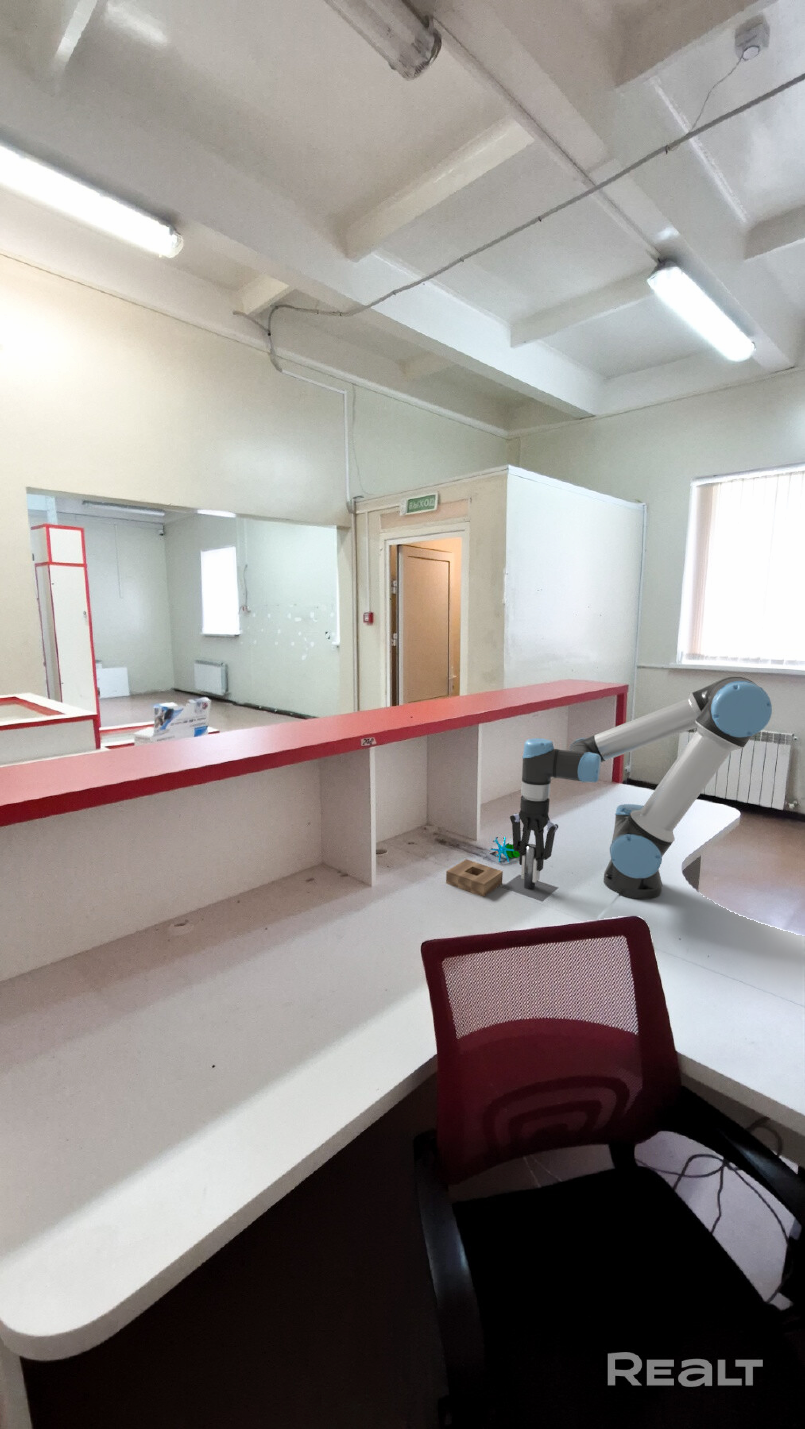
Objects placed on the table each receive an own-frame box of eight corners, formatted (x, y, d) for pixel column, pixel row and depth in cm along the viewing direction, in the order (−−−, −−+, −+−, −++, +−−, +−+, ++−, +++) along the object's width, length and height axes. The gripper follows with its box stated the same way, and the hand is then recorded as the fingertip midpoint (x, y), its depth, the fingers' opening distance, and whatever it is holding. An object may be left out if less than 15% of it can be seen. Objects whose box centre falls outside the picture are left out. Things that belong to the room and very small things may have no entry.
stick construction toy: (497, 860, 173) (493, 834, 177) (482, 865, 178) (478, 840, 182) (526, 863, 179) (522, 838, 183) (511, 868, 184) (507, 844, 188)
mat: (558, 888, 161) (558, 887, 160) (542, 902, 153) (542, 901, 153) (519, 875, 168) (519, 874, 168) (501, 888, 160) (501, 887, 160)
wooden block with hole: (502, 884, 162) (502, 871, 162) (483, 898, 155) (483, 884, 154) (465, 872, 170) (466, 859, 169) (446, 884, 162) (446, 870, 162)
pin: (536, 886, 161) (539, 845, 158) (531, 890, 158) (534, 849, 156) (527, 883, 163) (529, 842, 160) (521, 887, 160) (524, 846, 158)
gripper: (569, 799, 154) (563, 882, 158) (515, 787, 163) (511, 865, 168) (556, 806, 148) (551, 892, 152) (502, 793, 158) (498, 874, 162)
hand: (530, 878), depth 160 cm, fingers closed on pin, 3 cm apart
